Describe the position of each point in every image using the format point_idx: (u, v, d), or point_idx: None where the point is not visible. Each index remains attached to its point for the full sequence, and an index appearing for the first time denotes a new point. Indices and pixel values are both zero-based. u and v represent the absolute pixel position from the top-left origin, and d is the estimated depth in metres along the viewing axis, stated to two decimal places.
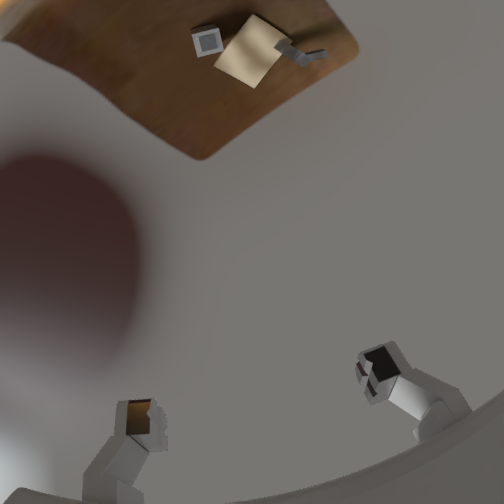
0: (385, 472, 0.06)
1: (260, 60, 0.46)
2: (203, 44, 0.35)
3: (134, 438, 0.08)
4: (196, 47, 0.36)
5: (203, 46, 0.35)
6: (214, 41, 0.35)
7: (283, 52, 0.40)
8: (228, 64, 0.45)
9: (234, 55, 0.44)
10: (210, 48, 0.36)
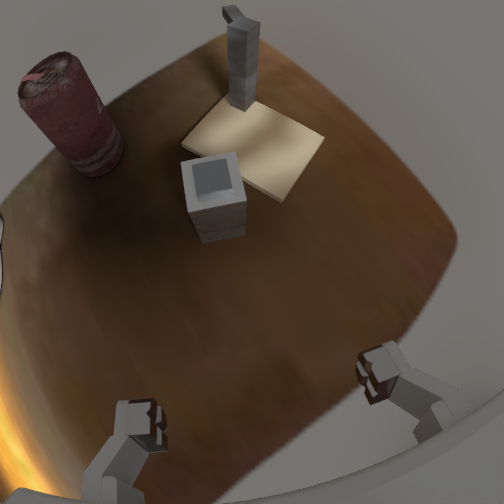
0: (385, 472, 0.06)
1: (270, 128, 0.30)
2: (213, 185, 0.19)
3: (134, 438, 0.08)
4: (221, 202, 0.20)
5: (218, 185, 0.19)
6: (210, 163, 0.20)
7: (243, 76, 0.25)
8: (279, 175, 0.28)
9: (261, 165, 0.28)
10: (225, 172, 0.20)
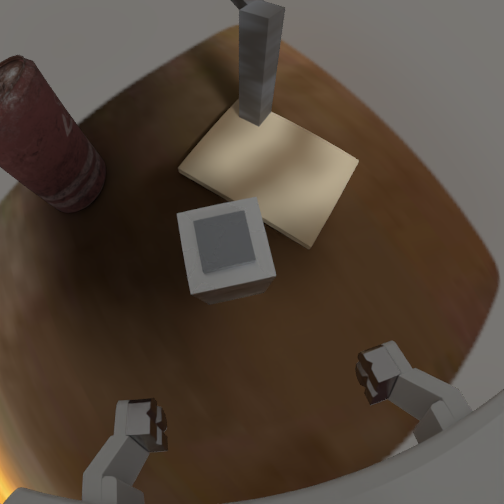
0: (385, 472, 0.06)
1: (292, 148, 0.23)
2: (227, 254, 0.13)
3: (134, 438, 0.08)
4: (239, 279, 0.14)
5: (235, 255, 0.13)
6: (220, 219, 0.14)
7: (259, 80, 0.19)
8: (305, 212, 0.22)
9: (282, 200, 0.22)
10: (244, 233, 0.14)
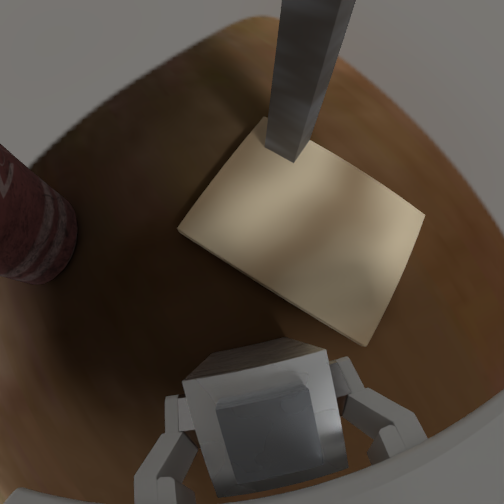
0: (385, 472, 0.06)
1: (341, 198, 0.17)
2: (278, 461, 0.06)
3: (187, 434, 0.09)
4: (293, 479, 0.07)
5: (291, 462, 0.06)
6: (266, 408, 0.07)
7: (306, 99, 0.12)
8: (361, 297, 0.15)
9: (330, 281, 0.15)
10: (307, 428, 0.07)
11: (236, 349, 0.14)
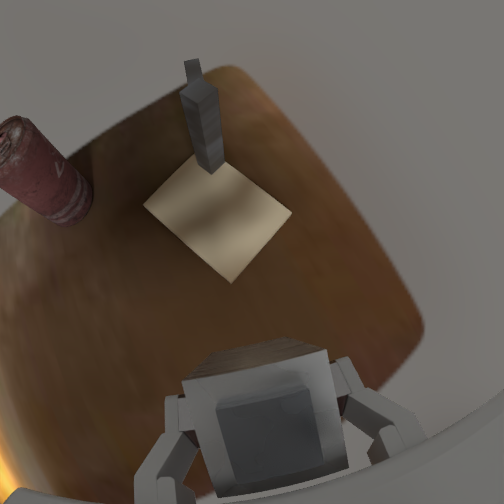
0: (385, 472, 0.06)
1: (234, 197, 0.29)
2: (277, 461, 0.06)
3: (187, 434, 0.09)
4: (293, 480, 0.07)
5: (291, 462, 0.06)
6: (266, 408, 0.07)
7: (203, 144, 0.24)
8: (232, 254, 0.28)
9: (216, 242, 0.28)
10: (307, 428, 0.07)
11: (236, 349, 0.14)
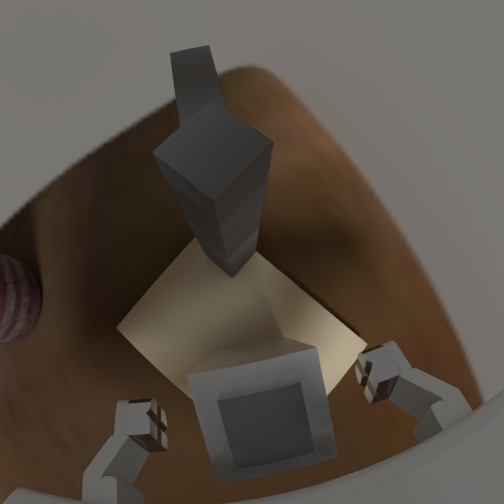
0: (385, 472, 0.06)
1: (274, 322, 0.17)
2: (272, 448, 0.07)
3: (134, 438, 0.08)
4: (287, 466, 0.08)
5: (284, 448, 0.07)
6: (262, 398, 0.08)
7: (222, 254, 0.12)
8: None
9: None
10: (299, 417, 0.08)
11: (236, 347, 0.15)
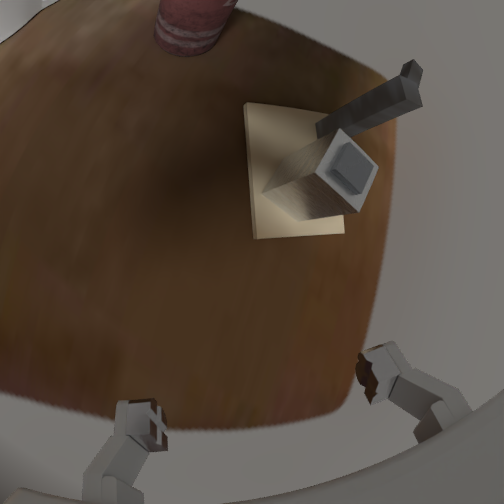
0: (385, 472, 0.06)
1: None
2: (352, 175, 0.17)
3: (134, 438, 0.08)
4: (342, 193, 0.18)
5: (355, 180, 0.17)
6: (361, 156, 0.18)
7: (354, 120, 0.21)
8: (279, 217, 0.25)
9: None
10: (366, 175, 0.18)
11: None
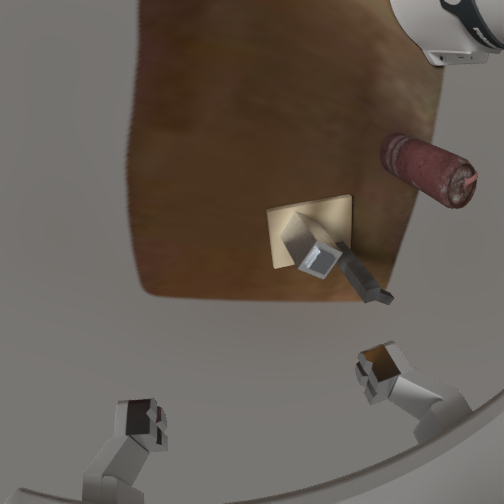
0: (385, 472, 0.06)
1: None
2: (317, 261, 0.33)
3: (134, 438, 0.08)
4: (306, 257, 0.33)
5: (315, 263, 0.33)
6: (328, 266, 0.34)
7: (348, 264, 0.38)
8: (281, 223, 0.40)
9: None
10: (318, 270, 0.34)
11: None
